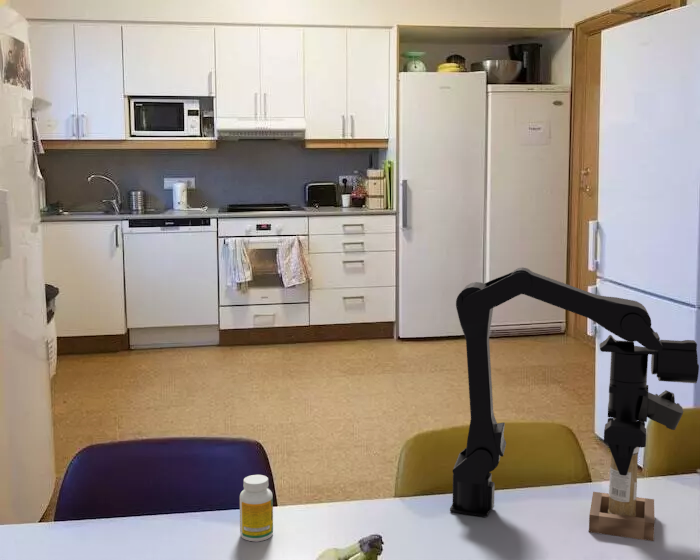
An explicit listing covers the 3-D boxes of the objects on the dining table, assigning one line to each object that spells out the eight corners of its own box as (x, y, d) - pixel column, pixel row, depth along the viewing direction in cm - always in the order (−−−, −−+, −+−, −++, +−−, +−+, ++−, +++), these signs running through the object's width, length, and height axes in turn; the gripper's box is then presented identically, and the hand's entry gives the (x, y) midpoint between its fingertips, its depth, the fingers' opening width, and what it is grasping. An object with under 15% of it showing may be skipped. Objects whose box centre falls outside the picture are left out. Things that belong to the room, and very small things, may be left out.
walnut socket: (588, 532, 134) (589, 514, 133) (592, 507, 143) (593, 491, 142) (653, 541, 130) (654, 523, 130) (653, 516, 140) (654, 499, 139)
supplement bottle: (236, 531, 134) (234, 476, 133) (266, 525, 137) (265, 470, 135) (246, 545, 130) (245, 487, 128) (278, 538, 132) (277, 481, 130)
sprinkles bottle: (641, 517, 136) (645, 439, 134) (623, 523, 133) (627, 444, 131) (618, 507, 140) (622, 432, 138) (601, 513, 137) (604, 437, 135)
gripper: (683, 398, 122) (677, 498, 124) (679, 369, 139) (673, 457, 141) (605, 391, 125) (601, 488, 128) (610, 363, 143) (606, 449, 145)
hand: (623, 469), depth 135 cm, fingers closed on sprinkles bottle, 4 cm apart
